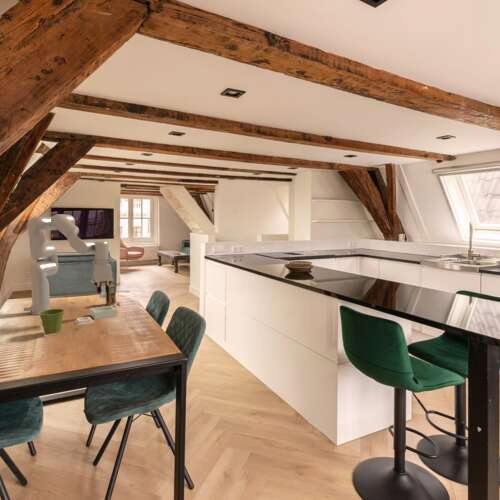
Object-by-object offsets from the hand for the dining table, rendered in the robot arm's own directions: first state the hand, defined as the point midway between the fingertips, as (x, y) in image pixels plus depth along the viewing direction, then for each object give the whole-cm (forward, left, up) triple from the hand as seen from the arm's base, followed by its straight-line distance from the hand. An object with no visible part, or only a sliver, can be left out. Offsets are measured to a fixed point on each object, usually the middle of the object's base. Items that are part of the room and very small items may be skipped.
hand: (103, 292), depth 215 cm
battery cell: (0, 0, -3) cm, 3 cm away
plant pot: (-29, -17, -15) cm, 37 cm away
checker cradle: (-12, -7, -15) cm, 21 cm away
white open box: (0, 0, -15) cm, 15 cm away
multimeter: (+15, +28, -15) cm, 35 cm away
